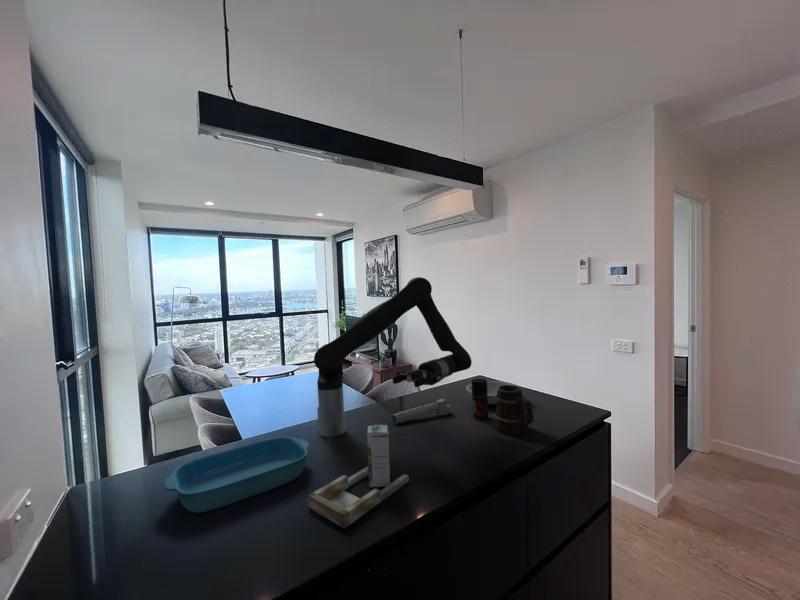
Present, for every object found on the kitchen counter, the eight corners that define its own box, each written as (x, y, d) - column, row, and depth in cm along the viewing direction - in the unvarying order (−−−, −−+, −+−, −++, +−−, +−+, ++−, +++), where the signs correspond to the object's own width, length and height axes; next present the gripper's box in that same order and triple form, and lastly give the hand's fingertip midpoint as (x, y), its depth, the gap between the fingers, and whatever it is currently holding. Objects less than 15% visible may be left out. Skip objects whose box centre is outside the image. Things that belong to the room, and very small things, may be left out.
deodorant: (491, 417, 136) (489, 379, 136) (483, 421, 132) (482, 383, 132) (477, 414, 140) (476, 377, 140) (470, 418, 136) (468, 381, 136)
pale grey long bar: (390, 412, 137) (443, 394, 146) (393, 428, 137) (446, 409, 147) (395, 416, 132) (450, 397, 142) (398, 433, 133) (452, 412, 142)
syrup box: (369, 476, 96) (366, 425, 96) (390, 474, 96) (387, 423, 96) (369, 488, 90) (366, 433, 90) (391, 486, 91) (388, 431, 91)
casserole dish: (295, 450, 116) (293, 429, 116) (323, 475, 98) (322, 451, 98) (163, 492, 94) (161, 466, 94) (169, 535, 76) (167, 503, 76)
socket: (344, 485, 92) (343, 474, 92) (380, 502, 84) (379, 490, 84) (308, 507, 83) (308, 495, 83) (344, 528, 75) (343, 515, 75)
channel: (374, 467, 101) (373, 462, 101) (408, 481, 93) (408, 475, 93) (344, 485, 92) (344, 480, 92) (380, 502, 84) (379, 496, 84)
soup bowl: (480, 414, 141) (479, 398, 141) (458, 397, 164) (458, 383, 164) (532, 407, 146) (532, 391, 146) (504, 392, 169) (504, 378, 169)
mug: (487, 428, 126) (485, 387, 126) (510, 420, 132) (508, 381, 132) (522, 442, 112) (520, 397, 112) (546, 433, 118) (544, 390, 118)
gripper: (416, 358, 122) (386, 368, 110) (450, 361, 113) (422, 372, 101) (417, 379, 122) (387, 391, 110) (452, 384, 113) (423, 397, 101)
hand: (404, 382), depth 105 cm, fingers open, 8 cm apart
